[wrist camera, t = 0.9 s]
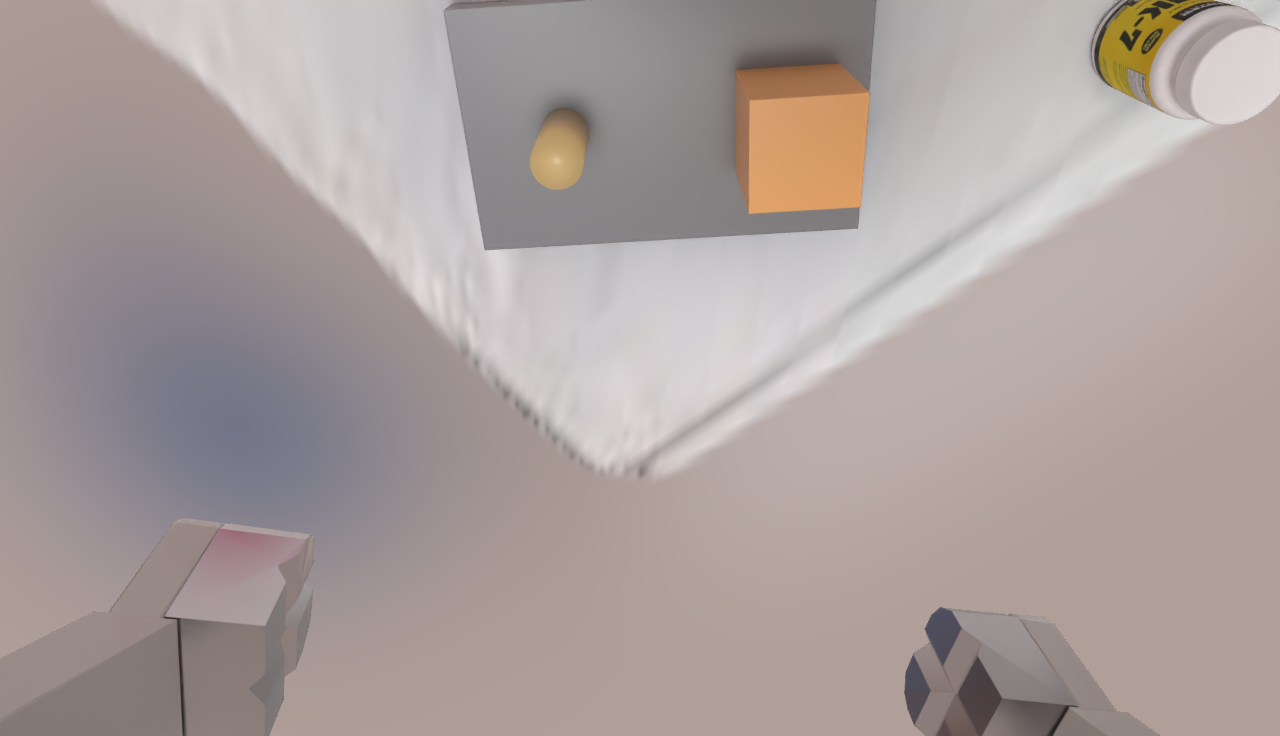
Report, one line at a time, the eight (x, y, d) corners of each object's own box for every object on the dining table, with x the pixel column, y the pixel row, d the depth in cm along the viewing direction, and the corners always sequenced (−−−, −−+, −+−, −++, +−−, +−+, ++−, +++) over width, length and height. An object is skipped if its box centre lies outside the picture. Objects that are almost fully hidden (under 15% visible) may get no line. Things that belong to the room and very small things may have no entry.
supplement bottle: (1166, -36, 39) (1284, -13, 32) (1203, 45, 41) (1322, 83, 34) (1071, 33, 41) (1164, 70, 34) (1111, 108, 43) (1207, 157, 36)
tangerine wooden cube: (839, 63, 40) (870, 92, 34) (833, 165, 42) (860, 207, 37) (735, 70, 40) (749, 100, 35) (735, 171, 42) (748, 213, 37)
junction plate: (867, -24, 39) (908, -5, 33) (849, 214, 46) (881, 267, 40) (451, 4, 40) (419, 28, 34) (490, 235, 46) (468, 291, 40)
